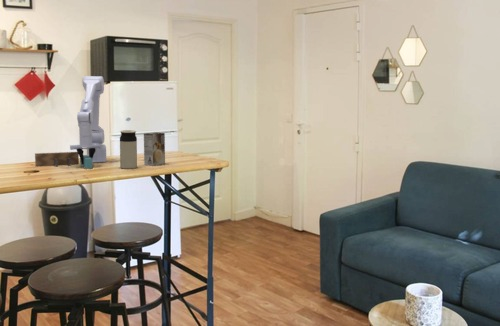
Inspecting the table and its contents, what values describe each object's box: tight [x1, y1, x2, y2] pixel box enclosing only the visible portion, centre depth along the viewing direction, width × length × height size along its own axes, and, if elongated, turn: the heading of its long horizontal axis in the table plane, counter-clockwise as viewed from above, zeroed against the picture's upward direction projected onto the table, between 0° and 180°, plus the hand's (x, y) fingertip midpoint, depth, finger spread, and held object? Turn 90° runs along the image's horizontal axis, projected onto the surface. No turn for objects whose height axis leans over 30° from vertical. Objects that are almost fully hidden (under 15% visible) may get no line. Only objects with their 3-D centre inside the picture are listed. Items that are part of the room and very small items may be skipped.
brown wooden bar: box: [34, 151, 80, 168], centre depth 253 cm, size 20×6×6 cm, turn 118°
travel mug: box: [119, 129, 138, 170], centre depth 250 cm, size 8×8×18 cm
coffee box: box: [143, 132, 166, 167], centre depth 262 cm, size 9×6×16 cm
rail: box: [79, 154, 94, 170], centre depth 252 cm, size 3×15×5 cm, turn 28°
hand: (86, 163), depth 252 cm, fingers closed on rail, 3 cm apart
